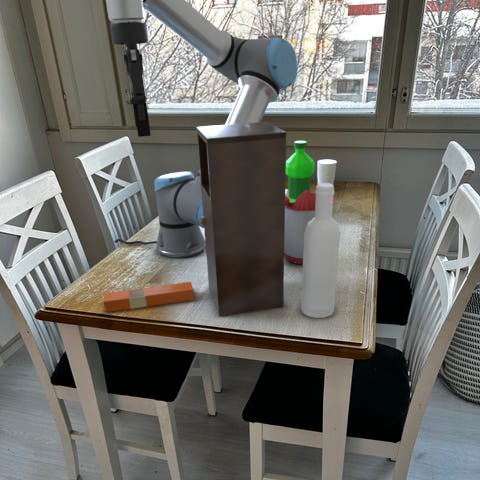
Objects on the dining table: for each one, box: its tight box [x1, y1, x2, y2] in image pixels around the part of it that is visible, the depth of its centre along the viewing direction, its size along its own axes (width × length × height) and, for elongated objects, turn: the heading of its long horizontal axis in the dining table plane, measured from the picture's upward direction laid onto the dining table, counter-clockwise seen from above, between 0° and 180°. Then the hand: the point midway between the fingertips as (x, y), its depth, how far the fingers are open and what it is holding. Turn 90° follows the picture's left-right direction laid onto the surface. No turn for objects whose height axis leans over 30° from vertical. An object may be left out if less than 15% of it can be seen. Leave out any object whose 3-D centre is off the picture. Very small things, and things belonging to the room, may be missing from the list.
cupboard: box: [196, 121, 287, 317], centre depth 107 cm, size 17×14×40 cm
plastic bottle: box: [286, 140, 316, 203], centre depth 164 cm, size 10×10×25 cm
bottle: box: [300, 183, 341, 319], centre depth 104 cm, size 8×8×30 cm
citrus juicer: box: [284, 190, 336, 265], centre depth 133 cm, size 16×17×20 cm
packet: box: [103, 281, 195, 313], centre depth 117 cm, size 22×5×3 cm, turn 103°
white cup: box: [316, 158, 338, 186], centre depth 197 cm, size 8×8×10 cm
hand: (142, 131), depth 107 cm, fingers open, 13 cm apart
